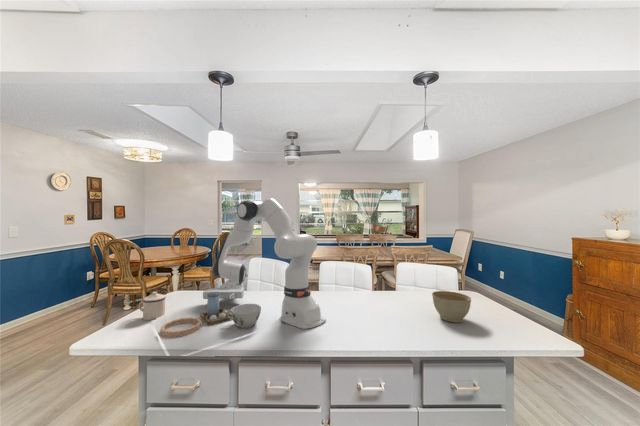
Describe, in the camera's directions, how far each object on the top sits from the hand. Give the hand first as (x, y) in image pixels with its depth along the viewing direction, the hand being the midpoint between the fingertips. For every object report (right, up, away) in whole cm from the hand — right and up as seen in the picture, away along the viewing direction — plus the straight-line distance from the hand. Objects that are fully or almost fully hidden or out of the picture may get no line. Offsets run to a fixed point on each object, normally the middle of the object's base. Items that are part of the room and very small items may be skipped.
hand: (218, 298), depth 122 cm
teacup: (+17, -7, -15) cm, 24 cm away
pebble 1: (+3, -6, -13) cm, 14 cm away
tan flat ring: (-7, -7, -20) cm, 22 cm away
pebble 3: (+6, -6, -7) cm, 11 cm away
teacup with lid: (-30, -7, -5) cm, 31 cm away
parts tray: (+2, -7, -8) cm, 11 cm away
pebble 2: (+6, -6, -10) cm, 13 cm away
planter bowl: (+111, -8, -6) cm, 112 cm away
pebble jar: (0, -6, -7) cm, 10 cm away
